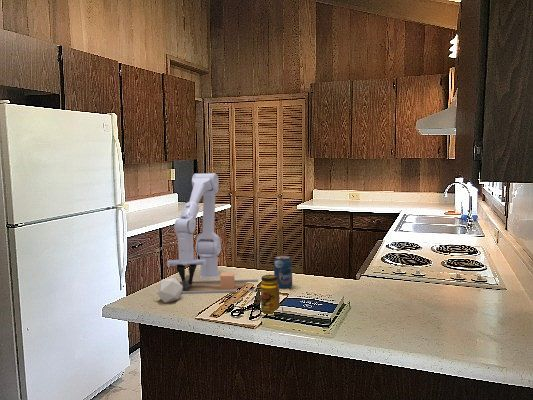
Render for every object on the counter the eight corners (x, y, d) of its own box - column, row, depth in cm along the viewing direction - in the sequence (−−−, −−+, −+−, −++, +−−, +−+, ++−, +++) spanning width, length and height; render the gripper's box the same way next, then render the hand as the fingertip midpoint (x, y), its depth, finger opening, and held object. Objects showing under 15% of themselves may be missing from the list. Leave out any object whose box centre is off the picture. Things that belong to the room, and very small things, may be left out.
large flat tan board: (186, 284, 178) (186, 273, 178) (246, 283, 178) (246, 272, 178) (181, 294, 166) (180, 282, 166) (245, 292, 166) (244, 280, 166)
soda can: (281, 291, 166) (281, 260, 165) (270, 287, 172) (270, 256, 171) (296, 287, 170) (295, 257, 169) (284, 284, 176) (284, 254, 175)
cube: (221, 285, 175) (221, 272, 174) (234, 284, 175) (234, 272, 174) (220, 289, 170) (220, 276, 169) (233, 288, 170) (233, 275, 169)
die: (178, 297, 165) (161, 277, 164) (191, 289, 160) (174, 269, 159) (165, 311, 159) (147, 290, 158) (178, 303, 154) (160, 282, 153)
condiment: (258, 316, 141) (257, 279, 140) (261, 307, 150) (260, 272, 149) (281, 316, 141) (280, 279, 140) (283, 307, 149) (282, 272, 148)
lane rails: (168, 284, 180) (168, 281, 180) (257, 282, 180) (257, 279, 179) (160, 295, 165) (159, 292, 165) (257, 293, 165) (257, 290, 165)
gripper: (164, 251, 167) (166, 287, 168) (203, 250, 167) (204, 286, 168) (168, 248, 174) (170, 282, 175) (205, 247, 174) (207, 281, 175)
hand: (187, 283), depth 172 cm, fingers closed on large flat tan board, 2 cm apart
